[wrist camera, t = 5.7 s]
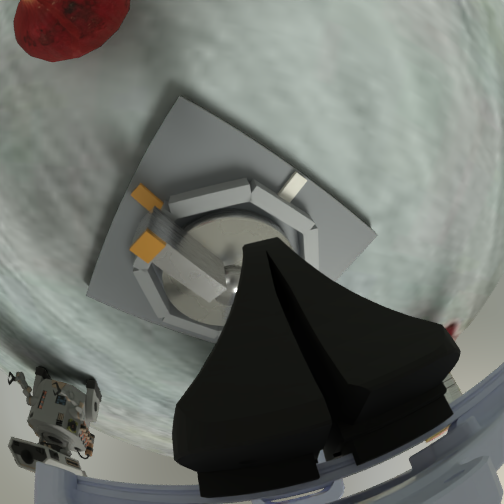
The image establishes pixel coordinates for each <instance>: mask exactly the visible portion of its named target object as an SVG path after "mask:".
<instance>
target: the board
mask: <svg viewBox="0 0 504 504" xmlns="http://www.w3.org/2000/svg"><path fill="white" fill-rule="evenodd" d="M154 206H156V207H157V208H158V209H160V210H161V211H162V212H163V213H164V214H166V215H167V216H168V217H169V218H170V219H172V220H173V221H174V222H175V223H176V224H178V225H179V226H180V227H181V228H182V227H183V226H184V225H185V224H187V223H188V222H190V221H191V220H193V219H194V218H196V217H198V216H200V215H203V214H205V213H208V212H212V211H216V210H221V209H244V210H249V211H253V212H256V213H259V214H261V215H263V216H265V217H267V218H269V219H270V220H272V221H273V222H275V223H276V224H277V225H278V226H279V227H280V228H281V229H282V230H283V232H284V233H285V235H286V236H287V238H288V240H289V242H290V244H291V246H292V248H293V250H294V252H296V253H297V254H298V255H299V256H300V257H302V258H303V259H304V260H305V261H307V262H308V263H309V264H311V265H312V266H313V267H314V268H316V269H317V270H319V271H320V272H321V273H323V274H324V275H326V276H327V277H329V278H330V279H332V280H333V281H336V280H337V279H338V278H339V277H340V276H341V275H342V274H343V273H344V272H345V271H346V270H347V269H348V267H349V266H350V265H351V264H352V263H353V262H354V261H355V260H356V259H357V258H358V257H359V256H360V254H361V253H362V252H363V251H364V250H365V249H366V248H367V247H368V245H369V244H370V243H371V242H372V241H373V240H374V239H375V238H376V236H377V234H376V233H375V232H374V231H373V230H372V229H371V228H370V227H369V226H368V225H367V224H366V223H364V222H363V221H362V220H361V219H360V218H359V217H357V216H356V215H355V214H354V213H353V212H351V211H350V210H349V209H348V208H346V207H345V206H344V205H343V204H342V203H340V202H339V201H338V200H337V199H335V198H334V197H333V196H332V195H330V194H329V193H328V192H326V191H325V190H324V189H323V188H321V187H320V186H319V185H317V184H316V183H315V182H313V181H312V180H311V179H309V178H308V177H307V176H305V175H304V174H303V173H301V172H300V171H299V170H297V169H296V168H295V167H293V166H292V165H290V164H289V163H288V162H286V161H285V160H283V159H282V158H280V157H279V156H278V155H276V154H275V153H273V152H272V151H270V150H269V149H267V148H266V147H264V146H263V145H262V144H260V143H259V142H257V141H255V140H254V139H252V138H251V137H249V136H248V135H246V134H245V133H243V132H242V131H240V130H238V129H237V128H235V127H234V126H232V125H230V124H229V123H227V122H226V121H224V120H222V119H221V118H219V117H217V116H216V115H214V114H212V113H211V112H209V111H207V110H206V109H204V108H202V107H200V106H199V105H197V104H195V103H193V102H192V101H190V100H188V99H186V98H184V97H183V96H179V98H178V99H177V101H176V102H175V104H174V105H173V107H172V108H171V110H170V112H169V113H168V115H167V116H166V118H165V120H164V121H163V123H162V125H161V126H160V128H159V130H158V131H157V133H156V135H155V137H154V138H153V140H152V142H151V144H150V145H149V147H148V149H147V151H146V153H145V154H144V156H143V158H142V160H141V162H140V164H139V166H138V168H137V170H136V172H135V174H134V176H133V178H132V180H131V182H130V184H129V186H128V188H127V190H126V192H125V194H124V197H123V199H122V201H121V203H120V205H119V208H118V210H117V212H116V214H115V217H114V219H113V222H112V224H111V226H110V229H109V231H108V234H107V236H106V239H105V241H104V244H103V247H102V249H101V252H100V255H99V258H98V260H97V263H96V266H95V269H94V272H93V275H92V278H91V281H90V284H89V287H88V291H87V294H86V296H88V297H90V298H92V299H95V300H97V301H99V302H102V303H104V304H106V305H109V306H111V307H113V308H116V309H118V310H121V311H123V312H126V313H128V314H131V315H133V316H136V317H138V318H141V319H144V320H146V321H149V322H152V323H154V324H157V325H160V326H163V327H165V328H168V329H171V330H174V331H177V332H180V333H183V334H186V335H189V336H192V337H195V338H198V339H202V340H205V341H208V342H211V343H215V344H216V342H217V340H218V338H219V336H220V334H221V332H222V330H223V327H224V326H217V325H210V324H205V323H201V322H198V321H196V320H193V319H191V318H189V317H187V316H186V315H184V314H183V313H181V312H180V311H179V310H178V309H177V308H176V307H175V306H174V305H173V304H172V303H171V302H170V300H169V298H168V297H167V295H166V292H165V290H164V286H163V279H162V274H163V270H162V269H160V268H159V267H157V266H156V265H155V264H153V263H152V262H151V261H150V262H149V263H146V262H145V261H144V260H142V259H141V258H139V257H138V256H137V255H135V254H134V253H133V252H131V251H130V250H129V249H130V246H131V243H132V240H133V237H134V235H135V232H136V229H137V227H138V224H139V222H140V221H141V220H142V218H143V217H144V216H145V215H146V214H147V213H148V212H149V211H150V210H151V209H152V208H153V207H154Z"/></svg>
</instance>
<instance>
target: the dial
mask: <svg viewBox="0 0 504 504" xmlns="http://www.w3.org/2000/svg"><path fill="white" fill-rule="evenodd" d="M274 237H278V238H280V239H281V240H282V241H283V242H284V243H285V244H286V245H288V246H289V247H290V248H291V249H292V250H293V248H292V246H291V244H290V242H289V240H288V238H287V236H286V235H285V233H284V232H283V230H282V229H281V228H280V227H279V226H278V225H277V224H276V223H275V222H273V221H272V220H270V219H269V218H267V217H265V216H263V215H261V214H259V213H256V212H253V211H249V210H244V209H221V210H216V211H212V212H208V213H205V214H203V215H200V216H198V217H196V218H194V219H193V220H191V221H190V222H188V223H187V224H185V225H184V226H183V227H182V228H181V227H180V226H179V225H178V224H176V223H175V222H174V221H173V220H172V219H170V218H169V217H168V216H167V215H166V214H164V213H163V212H162V211H161V210H160V209H158V208H157V207H156V206H154V207H153V208H152V209H151V210H150V211H149V212H148V213H147V214H146V215H145V216H144V217H143V218H142V220H141V221H140V222H139V224H138V227H137V229H136V232H135V235H134V237H133V240H132V243H131V246H130V249H129V250H130V251H131V252H133V253H134V254H135V255H137V256H138V257H139V258H141V259H142V260H144V261H145V262H146V263H149V262H150V261H151V262H152V263H153V264H155V265H156V266H157V267H159V268H160V269H162V270H163V274H162V279H163V286H164V290H165V292H166V295H167V297H168V298H169V300H170V302H171V303H172V304H173V305H174V306H175V307H176V308H177V309H178V310H179V311H180V312H181V313H183V314H184V315H186V316H187V317H189V318H191V319H193V320H196V321H198V322H201V323H205V324H210V325H217V326H224V325H225V323H226V320H227V318H228V315H229V313H230V310H231V307H232V304H233V301H234V298H235V294H236V291H237V287H238V283H239V278H240V273H241V268H242V259H243V250H242V247H243V246H244V245H245V244H248V243H253V242H257V241H261V240H266V239H270V238H274ZM293 251H294V250H293Z"/></svg>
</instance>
